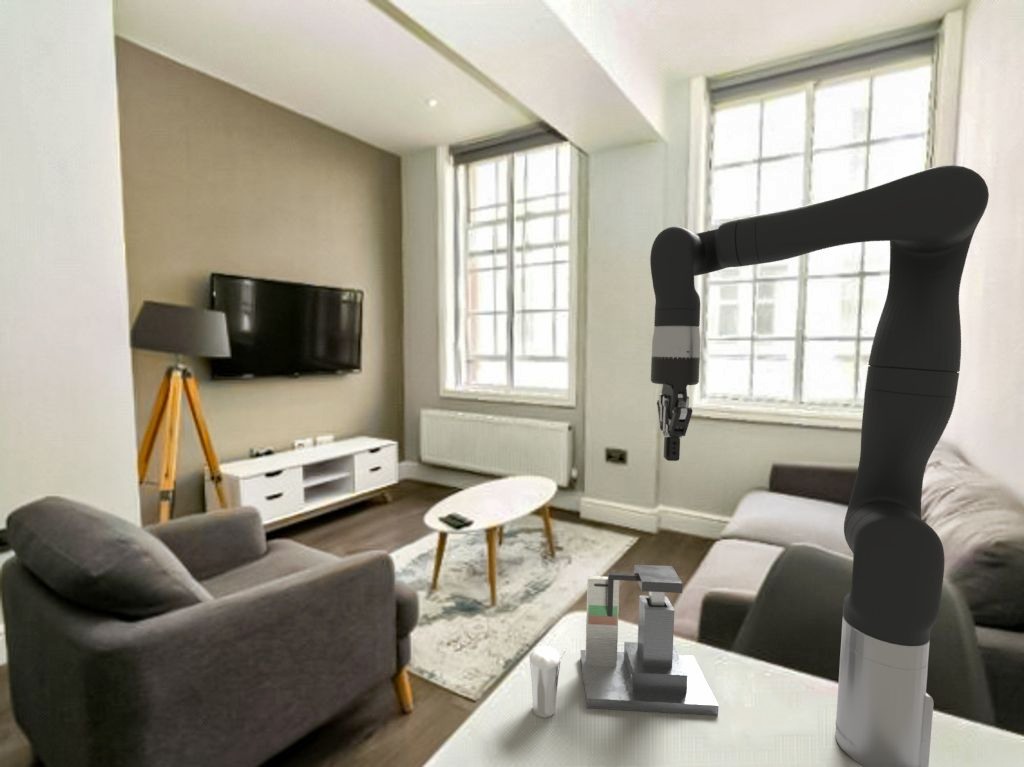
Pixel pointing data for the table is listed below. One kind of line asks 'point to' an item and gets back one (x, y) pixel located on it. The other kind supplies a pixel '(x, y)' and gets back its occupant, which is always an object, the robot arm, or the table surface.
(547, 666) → the milkshake
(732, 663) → the table surface
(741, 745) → the table surface
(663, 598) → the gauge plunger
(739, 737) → the table surface
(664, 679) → the gauge stand
